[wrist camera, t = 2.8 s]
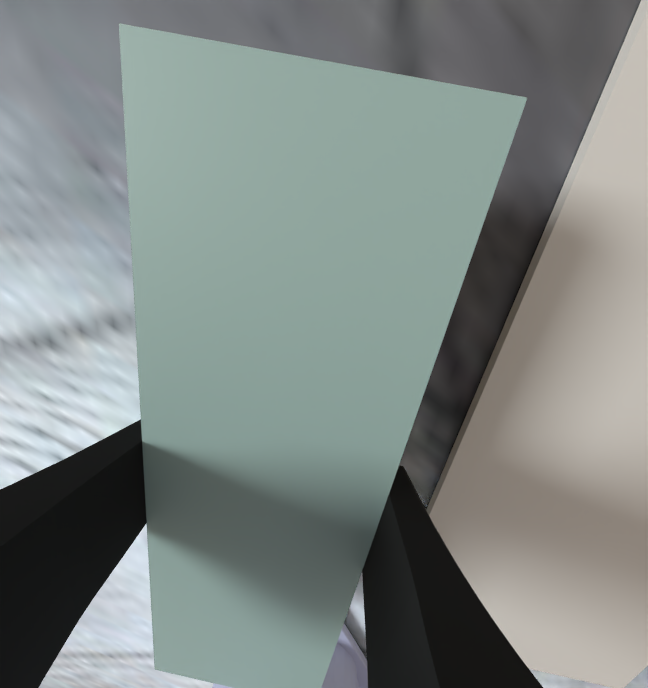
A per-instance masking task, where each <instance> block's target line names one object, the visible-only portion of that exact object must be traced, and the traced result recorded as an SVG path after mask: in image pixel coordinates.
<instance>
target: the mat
mask: <svg viewBox="0 0 648 688" xmlns="http://www.w3.org/2000/svg"><path fill="white" fill-rule="evenodd" d="M426 511H427V513H428V515H429V517H430V518H431V520H432V522H433V524H434V526H435V527H436V529H437V531H438V533H439V534H440V536H441V538H442V539H443V541H444V543H445V545H446V546H447V548H448V550H449V552H450V553H451V555H452V557H453V558H454V560H455V562H456V563H457V565H458V566H459V568H460V570H461V571H462V573H463V574H464V576H465V578H466V579H467V581H468V582H469V584H470V585H471V587H472V589H473V590H474V592H475V593H476V595H477V596H478V598H479V599H480V601H481V602H482V604H483V605H484V607H485V608H486V610H487V611H488V613H489V614H490V616H491V617H492V619H493V620H494V622H495V623H496V624H497V626H498V627H499V629H500V630H501V632H502V633H503V634H504V636H505V637H506V639H507V640H508V641H509V643H510V644H511V646H512V647H513V648H514V650H515V651H516V653H517V654H518V655H519V657H520V658H521V659H522V661H523V662H524V663H525V665H526V666H527V667H528V669H533V670H537V671H541V672H546V673H550V674H555V675H559V676H564V677H568V678H572V679H577V680H581V681H586V682H590V683H594V684H599V685H603V686H608V687H612V688H624V687H625V686H626V685H627V684H628V683H629V682H630V681H631V680H633V679H634V678H635V677H636V676H637V675H638V674H639V673H640V672H641V671H642V670H643V669H645V668H646V667H647V666H648V0H641V2H640V5H639V7H638V9H637V12H636V14H635V16H634V19H633V21H632V24H631V26H630V28H629V31H628V33H627V35H626V38H625V40H624V43H623V45H622V47H621V50H620V52H619V54H618V57H617V59H616V61H615V64H614V66H613V69H612V71H611V73H610V76H609V78H608V80H607V83H606V85H605V88H604V90H603V92H602V95H601V97H600V99H599V102H598V104H597V107H596V109H595V111H594V114H593V116H592V118H591V121H590V123H589V125H588V128H587V130H586V133H585V135H584V137H583V140H582V142H581V144H580V147H579V149H578V152H577V154H576V156H575V159H574V161H573V163H572V166H571V168H570V170H569V173H568V175H567V178H566V180H565V182H564V185H563V187H562V189H561V192H560V194H559V197H558V199H557V201H556V204H555V206H554V208H553V211H552V213H551V215H550V218H549V220H548V223H547V225H546V227H545V230H544V232H543V234H542V237H541V239H540V242H539V244H538V246H537V249H536V251H535V253H534V256H533V258H532V260H531V263H530V265H529V268H528V270H527V272H526V275H525V277H524V279H523V282H522V284H521V287H520V289H519V291H518V294H517V296H516V298H515V301H514V303H513V305H512V308H511V310H510V313H509V315H508V317H507V320H506V322H505V324H504V327H503V329H502V332H501V334H500V336H499V339H498V341H497V343H496V346H495V348H494V351H493V353H492V355H491V358H490V360H489V362H488V365H487V367H486V369H485V372H484V374H483V377H482V379H481V381H480V384H479V386H478V388H477V391H476V393H475V396H474V398H473V400H472V403H471V405H470V407H469V410H468V412H467V414H466V417H465V419H464V422H463V424H462V426H461V429H460V431H459V433H458V436H457V438H456V441H455V443H454V445H453V448H452V450H451V452H450V455H449V457H448V459H447V462H446V464H445V467H444V469H443V471H442V474H441V476H440V478H439V481H438V483H437V486H436V488H435V490H434V493H433V495H432V497H431V500H430V502H429V504H428V507H427V509H426Z"/></svg>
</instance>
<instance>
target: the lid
mask: <svg viewBox="0 0 648 688" xmlns="http://www.w3.org/2000/svg"><path fill="white" fill-rule="evenodd" d="M119 34H120V52H121V70H122V88H123V106H124V124H125V142H126V160H127V178H128V196H129V214H130V232H131V250H132V268H133V286H134V304H135V322H136V340H137V358H138V376H139V394H140V412H141V430H142V448H143V466H144V484H145V502H146V520H147V538H148V556H149V574H150V592H151V610H152V628H153V646H154V664H155V670H159V671H164V672H168V673H172V674H177V675H181V676H185V677H189V678H194V679H198V680H202V681H206V682H211V683H215V684H219V685H224V686H228V687H232V688H321V687H322V684H323V681H324V679H325V676H326V673H327V670H328V667H329V664H330V661H331V659H332V656H333V653H334V650H335V647H336V644H337V641H338V638H339V636H340V633H341V630H342V627H343V624H344V621H345V618H346V616H347V613H348V610H349V607H350V604H351V601H352V598H353V596H354V593H355V590H356V587H357V584H358V581H359V578H360V575H361V573H362V570H363V567H364V564H365V561H366V558H367V555H368V553H369V550H370V547H371V544H372V541H373V538H374V535H375V533H376V530H377V527H378V524H379V521H380V518H381V515H382V512H383V510H384V507H385V504H386V501H387V498H388V495H389V492H390V490H391V487H392V484H393V481H394V478H395V475H396V472H397V470H398V467H399V464H400V461H401V458H402V455H403V452H404V449H405V447H406V444H407V441H408V438H409V435H410V432H411V429H412V427H413V424H414V421H415V418H416V415H417V412H418V409H419V407H420V404H421V401H422V398H423V395H424V392H425V389H426V386H427V384H428V381H429V378H430V375H431V372H432V369H433V366H434V364H435V361H436V358H437V355H438V352H439V349H440V346H441V343H442V341H443V338H444V335H445V332H446V329H447V326H448V323H449V321H450V318H451V315H452V312H453V309H454V306H455V303H456V301H457V298H458V295H459V292H460V289H461V286H462V283H463V280H464V278H465V275H466V272H467V269H468V266H469V263H470V260H471V258H472V255H473V252H474V249H475V246H476V243H477V240H478V238H479V235H480V232H481V229H482V226H483V223H484V220H485V217H486V215H487V212H488V209H489V206H490V203H491V200H492V197H493V195H494V192H495V189H496V186H497V183H498V180H499V177H500V175H501V172H502V169H503V166H504V163H505V160H506V157H507V154H508V152H509V149H510V146H511V143H512V140H513V137H514V134H515V132H516V129H517V126H518V123H519V120H520V117H521V114H522V112H523V109H524V106H525V103H526V100H527V98H526V97H521V96H515V95H510V94H504V93H499V92H493V91H488V90H482V89H477V88H471V87H466V86H460V85H455V84H449V83H444V82H438V81H433V80H427V79H422V78H416V77H411V76H405V75H400V74H394V73H389V72H383V71H378V70H372V69H367V68H361V67H356V66H350V65H345V64H339V63H334V62H328V61H323V60H317V59H312V58H306V57H301V56H295V55H290V54H284V53H279V52H273V51H268V50H262V49H257V48H251V47H246V46H240V45H235V44H229V43H224V42H218V41H213V40H207V39H202V38H196V37H191V36H185V35H180V34H174V33H169V32H163V31H158V30H152V29H147V28H141V27H136V26H130V25H125V24H119Z"/></svg>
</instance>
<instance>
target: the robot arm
mask: <svg viewBox="0 0 648 688" xmlns="http://www.w3.org/2000/svg"><path fill="white" fill-rule="evenodd" d="M146 523H147V520H146V502H145V484H144V466H143V448H142V430H141V420H139V421H137V422H135V423H133V424H131V425H129V426H127V427H126V428H124V429H122V430H120V431H118V432H116V433H114V434H112V435H110V436H109V437H107V438H105V439H103V440H101V441H99V442H97V443H95V444H93V445H91V446H89V447H87V448H85V449H84V450H82V451H80V452H78V453H76V454H74V455H72V456H70V457H68V458H66V459H64V460H62V461H60V462H58V463H56V464H54V465H51V466H49V467H47V468H45V469H43V470H41V471H39V472H37V473H35V474H33V475H30V476H28V477H26V478H24V479H22V480H20V481H18V482H16V483H14V484H12V485H9V486H7V487H5V488H3V489H1V490H0V688H38V687H39V686H40V684H41V682H42V681H43V679H44V677H45V675H46V674H47V672H48V670H49V669H50V667H51V665H52V664H53V662H54V660H55V659H56V657H57V655H58V654H59V652H60V650H61V649H62V647H63V645H64V644H65V642H66V640H67V639H68V637H69V635H70V634H71V632H72V630H73V629H74V627H75V625H76V624H77V622H78V621H79V619H80V618H81V616H82V615H83V613H84V611H85V610H86V608H87V607H88V605H89V604H90V602H91V601H92V599H93V598H94V597H95V595H96V594H97V592H98V591H99V589H100V588H101V587H102V585H103V584H104V582H105V581H106V580H107V578H108V577H109V575H110V574H111V573H112V571H113V570H114V568H115V567H116V565H117V564H118V563H119V561H120V560H121V558H122V557H123V556H124V554H125V553H126V551H127V550H128V548H129V547H130V546H131V544H132V543H133V541H134V540H135V539H136V537H137V536H138V534H139V533H140V531H141V530H142V529H143V527H144V526H145V524H146ZM362 573H363V593H364V611H365V629H366V648H367V659H366V658H365V656H364V654H363V653H362V651H361V650H360V648H359V646H358V645H357V643H356V641H355V640H354V638H353V637H352V635H351V633H350V632H349V630H348V628H347V627H346V625H345V624H343V627H342V630H341V633H340V636H339V638H338V641H337V644H336V647H335V650H334V653H333V656H332V659H331V661H330V664H329V667H328V670H327V673H326V676H325V679H324V681H323V684H322V687H321V688H543V687H542V686H541V684H540V683H539V682H538V681H537V679H536V678H535V677H534V675H533V674H532V673H531V671H530V670H529V669H528V667H527V666H526V665H525V663H524V662H523V661H522V659H521V658H520V657H519V655H518V654H517V653H516V651H515V650H514V648H513V647H512V646H511V644H510V643H509V641H508V640H507V639H506V637H505V636H504V634H503V633H502V632H501V630H500V629H499V627H498V626H497V624H496V623H495V622H494V620H493V619H492V617H491V616H490V614H489V613H488V611H487V610H486V608H485V607H484V605H483V604H482V602H481V601H480V599H479V598H478V596H477V595H476V593H475V592H474V590H473V589H472V587H471V585H470V584H469V582H468V581H467V579H466V578H465V576H464V574H463V573H462V571H461V570H460V568H459V566H458V565H457V563H456V562H455V560H454V558H453V557H452V555H451V553H450V552H449V550H448V548H447V546H446V545H445V543H444V541H443V539H442V538H441V536H440V534H439V533H438V531H437V529H436V527H435V526H434V524H433V522H432V520H431V518H430V517H429V515H428V513H427V511H426V509H425V507H424V505H423V503H422V502H421V500H420V498H419V496H418V494H417V492H416V490H415V488H414V486H413V484H412V482H411V480H410V478H409V476H408V474H407V472H406V470H405V469H404V467H403V466H399V467H398V470H397V472H396V475H395V478H394V481H393V484H392V487H391V490H390V492H389V495H388V498H387V501H386V504H385V507H384V510H383V512H382V515H381V518H380V521H379V524H378V527H377V530H376V533H375V535H374V538H373V541H372V544H371V547H370V550H369V553H368V555H367V558H366V561H365V564H364V567H363V570H362ZM212 688H232V687H228V686H224V685H219V684H215V683H214V684H213V687H212Z"/></svg>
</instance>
